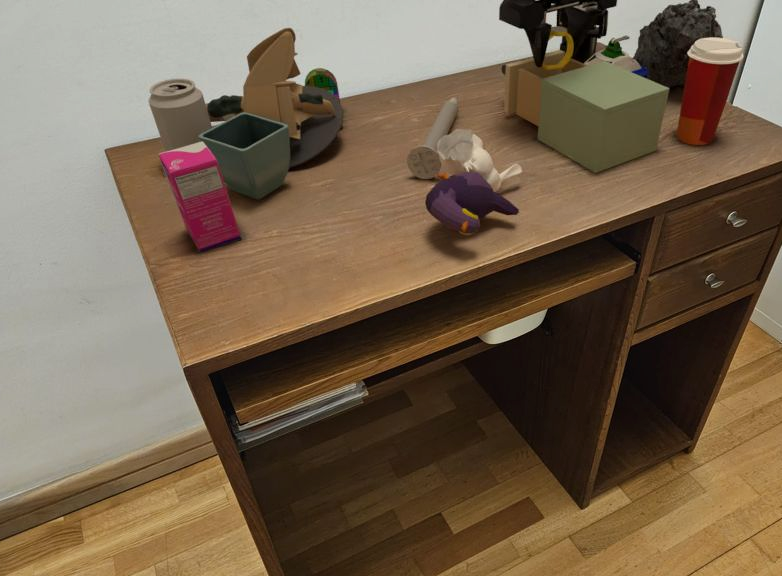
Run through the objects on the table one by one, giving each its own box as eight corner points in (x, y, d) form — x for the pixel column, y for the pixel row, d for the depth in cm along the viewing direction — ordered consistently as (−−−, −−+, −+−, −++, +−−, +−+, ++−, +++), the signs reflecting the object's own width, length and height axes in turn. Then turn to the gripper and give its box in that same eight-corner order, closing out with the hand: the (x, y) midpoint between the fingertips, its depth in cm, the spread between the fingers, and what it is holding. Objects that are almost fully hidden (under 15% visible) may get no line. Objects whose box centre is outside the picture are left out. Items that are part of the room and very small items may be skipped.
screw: (445, 118, 114) (471, 111, 112) (414, 182, 95) (445, 174, 93) (436, 90, 111) (463, 82, 109) (402, 150, 92) (434, 142, 90)
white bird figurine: (468, 171, 81) (505, 218, 88) (507, 126, 82) (541, 177, 88) (421, 151, 90) (457, 195, 97) (456, 110, 90) (490, 157, 97)
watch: (542, 75, 101) (545, 34, 97) (532, 69, 103) (535, 29, 98) (574, 68, 103) (578, 28, 98) (564, 62, 104) (568, 23, 100)
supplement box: (185, 233, 85) (156, 151, 77) (229, 219, 87) (205, 139, 79) (197, 254, 81) (168, 171, 73) (243, 239, 84) (219, 157, 76)
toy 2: (490, 239, 88) (524, 213, 83) (438, 257, 80) (472, 228, 75) (450, 172, 89) (481, 142, 84) (394, 182, 80) (425, 149, 76)
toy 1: (227, 101, 107) (178, 15, 94) (343, 77, 105) (309, -14, 92) (216, 182, 97) (160, 99, 84) (343, 157, 95) (306, 68, 82)
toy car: (650, 96, 114) (661, 39, 107) (598, 111, 110) (606, 53, 103) (614, 79, 120) (623, 25, 113) (563, 93, 115) (569, 37, 109)
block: (294, 111, 113) (286, 71, 108) (340, 106, 114) (334, 66, 109) (293, 139, 104) (284, 97, 99) (343, 134, 105) (336, 92, 100)
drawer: (486, 102, 112) (487, 55, 106) (538, 87, 116) (541, 41, 111) (550, 138, 101) (555, 89, 96) (604, 120, 105) (612, 72, 100)
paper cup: (714, 127, 105) (739, 36, 95) (724, 149, 99) (751, 54, 90) (665, 126, 105) (685, 35, 96) (672, 147, 100) (694, 53, 90)
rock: (714, 107, 111) (743, 14, 100) (633, 104, 112) (653, 10, 101) (695, 71, 123) (719, -17, 112) (623, 68, 123) (639, -19, 113)
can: (230, 155, 101) (209, 78, 92) (203, 178, 96) (178, 98, 87) (190, 149, 103) (165, 72, 94) (160, 171, 97) (132, 92, 89)
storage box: (537, 139, 103) (542, 78, 96) (596, 119, 108) (604, 60, 101) (595, 173, 95) (604, 109, 88) (656, 150, 99) (669, 88, 93)
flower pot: (259, 211, 89) (243, 150, 82) (214, 195, 92) (195, 135, 86) (301, 183, 94) (289, 124, 88) (257, 169, 97) (243, 111, 91)
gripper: (576, -70, 100) (566, 36, 110) (478, -52, 92) (477, 60, 103) (628, -57, 93) (611, 55, 104) (525, -37, 86) (519, 82, 96)
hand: (554, 62), depth 102 cm, fingers closed on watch, 6 cm apart
